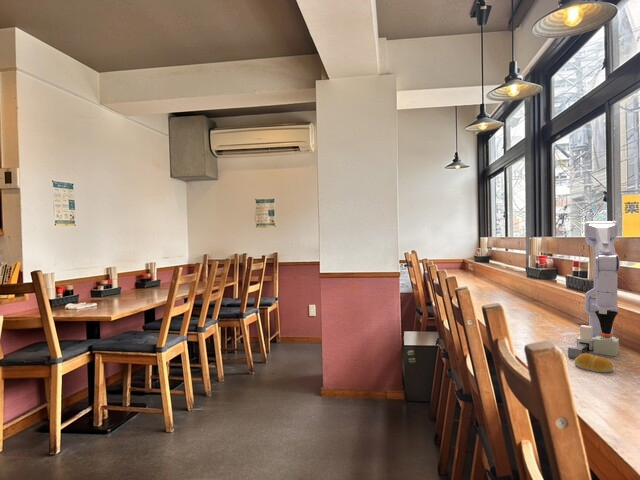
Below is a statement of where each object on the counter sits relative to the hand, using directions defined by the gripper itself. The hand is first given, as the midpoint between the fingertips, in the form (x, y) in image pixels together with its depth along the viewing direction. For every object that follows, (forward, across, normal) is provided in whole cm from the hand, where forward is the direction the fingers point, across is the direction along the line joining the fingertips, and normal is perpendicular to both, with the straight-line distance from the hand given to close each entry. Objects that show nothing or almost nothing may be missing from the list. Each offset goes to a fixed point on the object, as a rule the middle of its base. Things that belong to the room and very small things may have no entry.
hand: (606, 333), depth 132 cm
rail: (+6, +3, -6) cm, 9 cm away
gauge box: (+6, 0, 0) cm, 6 cm away
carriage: (+6, -2, -6) cm, 9 cm away
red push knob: (+5, 0, 0) cm, 5 cm away
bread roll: (+7, +22, 0) cm, 23 cm away
